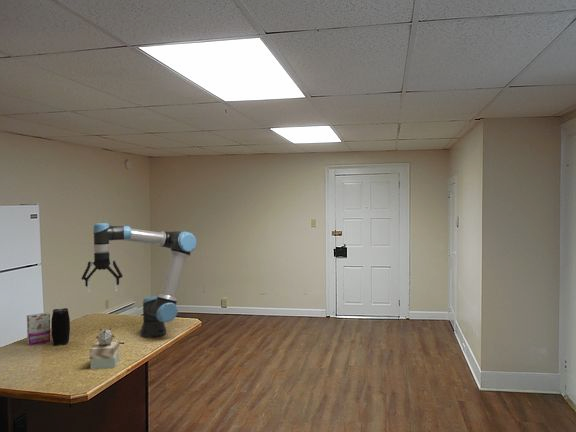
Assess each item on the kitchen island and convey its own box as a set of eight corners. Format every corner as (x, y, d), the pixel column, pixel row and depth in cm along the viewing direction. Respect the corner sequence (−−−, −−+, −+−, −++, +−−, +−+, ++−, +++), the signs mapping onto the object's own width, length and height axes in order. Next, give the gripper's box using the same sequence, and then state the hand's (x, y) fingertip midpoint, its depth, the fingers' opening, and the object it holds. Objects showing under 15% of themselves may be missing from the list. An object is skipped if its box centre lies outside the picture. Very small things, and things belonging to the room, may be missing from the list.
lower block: (118, 360, 227) (118, 350, 227) (115, 368, 216) (114, 358, 216) (95, 362, 225) (95, 352, 225) (90, 370, 214) (90, 359, 214)
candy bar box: (48, 339, 263) (48, 312, 262) (50, 341, 259) (50, 313, 259) (26, 343, 256) (26, 315, 255) (28, 345, 252) (28, 316, 251)
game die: (106, 353, 219) (105, 341, 213) (92, 346, 221) (90, 333, 215) (119, 340, 226) (117, 327, 220) (105, 333, 228) (103, 320, 222)
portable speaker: (48, 344, 254) (48, 310, 253) (64, 340, 261) (64, 307, 261) (57, 347, 249) (56, 312, 249) (73, 342, 257) (72, 308, 256)
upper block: (119, 351, 226) (119, 341, 226) (113, 358, 216) (113, 348, 215) (96, 352, 225) (96, 342, 225) (89, 359, 214) (89, 349, 214)
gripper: (127, 250, 246) (128, 289, 246) (78, 252, 240) (79, 291, 240) (125, 251, 238) (126, 291, 239) (74, 253, 233) (75, 294, 233)
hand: (102, 291), depth 240 cm, fingers open, 13 cm apart
